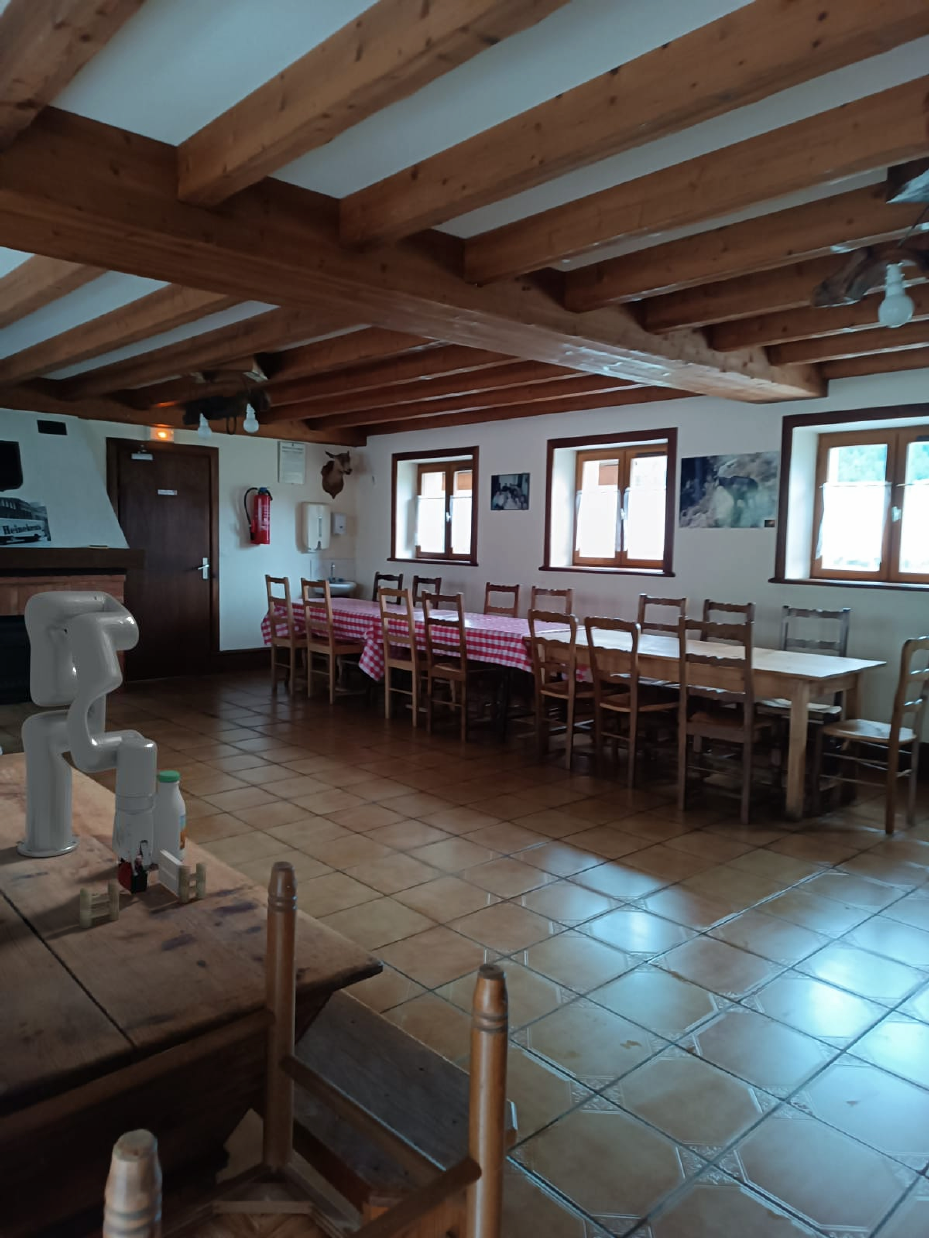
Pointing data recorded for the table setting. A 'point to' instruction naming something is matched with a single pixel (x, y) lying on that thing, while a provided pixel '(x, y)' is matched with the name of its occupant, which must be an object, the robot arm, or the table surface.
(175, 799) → the milk bottle
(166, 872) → the gate
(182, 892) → the fence
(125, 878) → the onion
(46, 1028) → the table surface
